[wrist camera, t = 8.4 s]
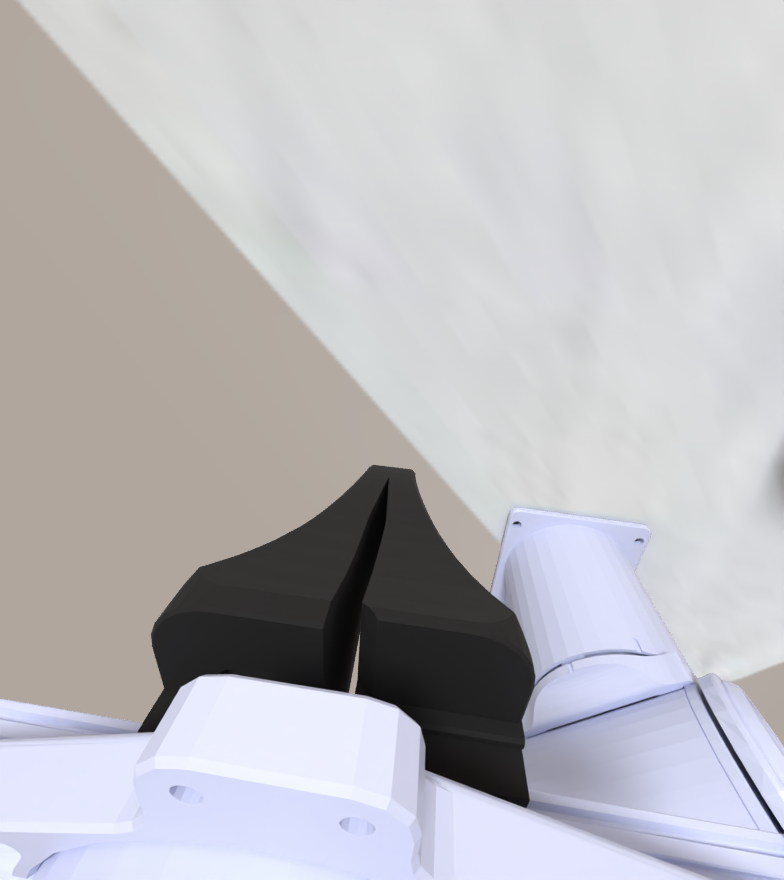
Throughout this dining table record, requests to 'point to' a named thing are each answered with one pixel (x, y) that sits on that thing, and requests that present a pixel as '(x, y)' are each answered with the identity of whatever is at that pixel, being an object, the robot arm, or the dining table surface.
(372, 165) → the dining table surface
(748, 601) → the dining table surface
